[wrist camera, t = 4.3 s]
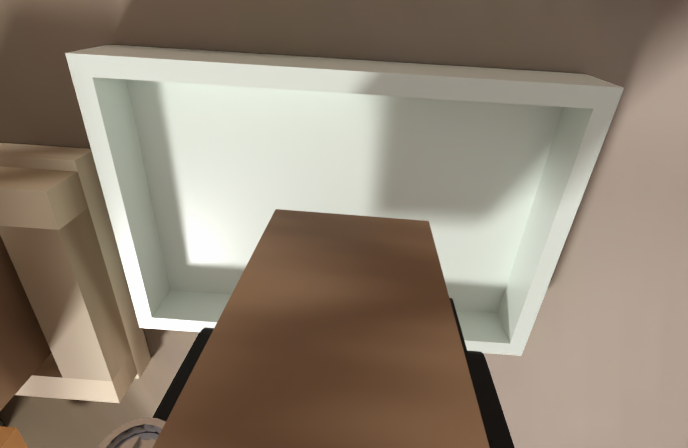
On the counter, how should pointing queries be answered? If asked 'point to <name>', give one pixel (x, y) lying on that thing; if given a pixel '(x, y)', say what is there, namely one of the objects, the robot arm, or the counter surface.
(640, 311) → the counter surface
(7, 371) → the block
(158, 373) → the counter surface
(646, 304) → the counter surface
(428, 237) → the block
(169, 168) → the tote
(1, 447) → the plunger
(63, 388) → the pallet
